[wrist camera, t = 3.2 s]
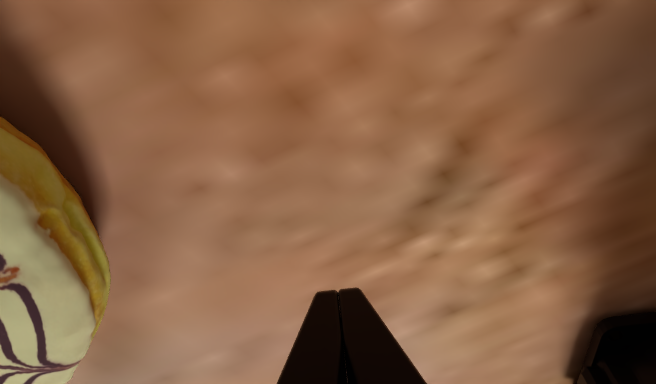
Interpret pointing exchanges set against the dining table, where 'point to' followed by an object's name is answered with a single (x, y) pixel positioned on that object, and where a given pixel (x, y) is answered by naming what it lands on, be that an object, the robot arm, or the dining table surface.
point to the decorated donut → (45, 267)
